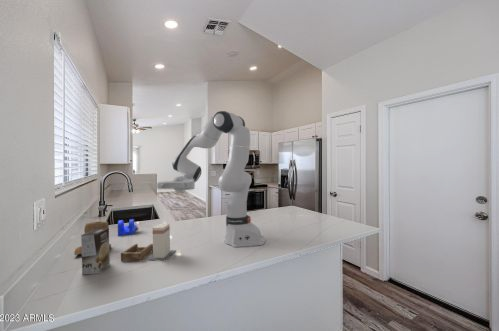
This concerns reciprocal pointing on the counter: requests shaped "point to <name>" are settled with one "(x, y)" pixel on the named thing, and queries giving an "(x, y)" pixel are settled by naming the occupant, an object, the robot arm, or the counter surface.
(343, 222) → the counter surface
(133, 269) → the counter surface
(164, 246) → the striped white pillar
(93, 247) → the coffee box
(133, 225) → the bracket
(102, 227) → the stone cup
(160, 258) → the mat
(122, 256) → the holder
